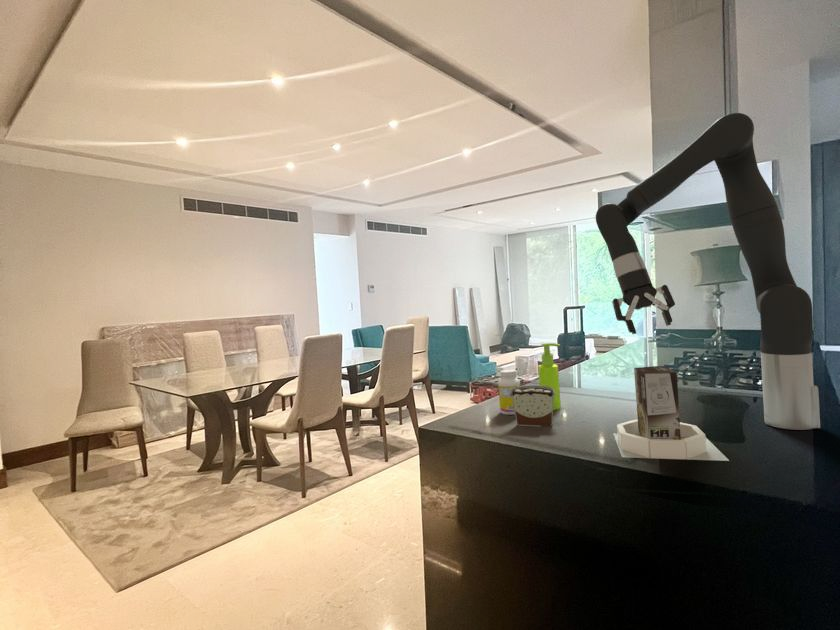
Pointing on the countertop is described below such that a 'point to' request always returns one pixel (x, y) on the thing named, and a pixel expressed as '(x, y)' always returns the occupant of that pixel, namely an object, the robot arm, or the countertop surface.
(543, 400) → the food container
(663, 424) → the coffee box
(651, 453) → the bowl
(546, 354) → the soap dispenser
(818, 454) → the countertop surface
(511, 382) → the supplement bottle
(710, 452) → the mat
